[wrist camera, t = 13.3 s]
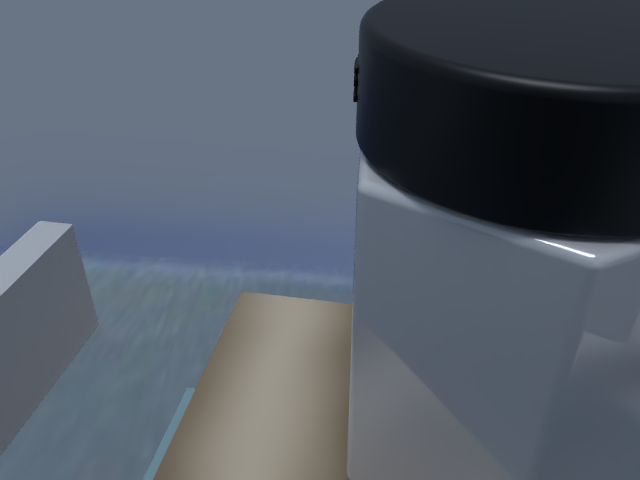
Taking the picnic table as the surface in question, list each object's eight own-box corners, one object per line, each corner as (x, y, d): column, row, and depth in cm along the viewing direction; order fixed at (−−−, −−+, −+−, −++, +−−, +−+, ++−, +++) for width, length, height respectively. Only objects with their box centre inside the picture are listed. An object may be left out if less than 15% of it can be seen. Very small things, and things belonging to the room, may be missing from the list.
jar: (508, 309, 23) (583, -31, 17) (699, 480, 17) (939, 45, 10) (290, 382, 20) (276, -1, 13) (427, 625, 14) (523, 133, 7)
